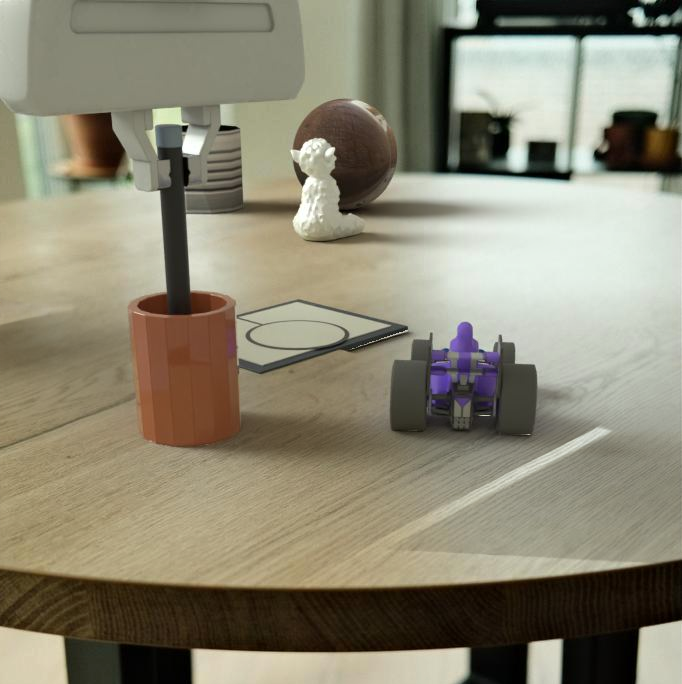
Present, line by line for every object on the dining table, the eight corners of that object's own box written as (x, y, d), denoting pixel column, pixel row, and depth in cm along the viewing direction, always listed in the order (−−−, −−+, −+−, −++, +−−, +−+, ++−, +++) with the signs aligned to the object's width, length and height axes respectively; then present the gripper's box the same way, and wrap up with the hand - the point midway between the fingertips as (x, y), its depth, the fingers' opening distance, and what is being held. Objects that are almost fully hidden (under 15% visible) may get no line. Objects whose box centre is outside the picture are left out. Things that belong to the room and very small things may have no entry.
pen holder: (120, 434, 69) (106, 303, 65) (198, 409, 73) (189, 285, 70) (183, 461, 65) (173, 323, 61) (262, 433, 69) (257, 302, 65)
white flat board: (150, 343, 88) (149, 335, 88) (298, 304, 100) (298, 297, 99) (260, 379, 79) (260, 370, 79) (408, 332, 91) (408, 324, 91)
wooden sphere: (391, 219, 141) (394, 103, 135) (285, 217, 143) (282, 102, 136) (399, 201, 155) (402, 95, 148) (302, 199, 156) (300, 94, 150)
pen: (165, 355, 67) (149, 125, 60) (184, 350, 68) (170, 123, 61) (180, 360, 66) (165, 127, 59) (199, 355, 67) (187, 125, 60)
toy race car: (521, 375, 80) (528, 293, 77) (533, 447, 67) (542, 352, 64) (401, 371, 81) (403, 290, 78) (388, 441, 68) (390, 347, 65)
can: (152, 211, 147) (145, 122, 142) (189, 199, 157) (184, 115, 151) (223, 215, 144) (218, 125, 138) (257, 203, 153) (254, 118, 148)
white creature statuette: (366, 232, 133) (367, 134, 128) (350, 245, 126) (350, 142, 120) (296, 228, 135) (294, 132, 130) (277, 241, 128) (274, 140, 122)
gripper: (256, -62, 65) (261, 166, 71) (-44, -84, 51) (-6, 200, 57) (327, -65, 61) (327, 176, 67) (23, -90, 47) (56, 214, 54)
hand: (171, 187), depth 62 cm, fingers closed on pen, 1 cm apart
